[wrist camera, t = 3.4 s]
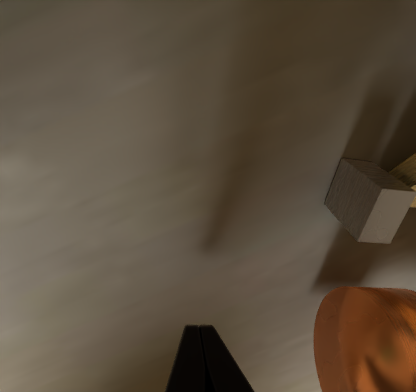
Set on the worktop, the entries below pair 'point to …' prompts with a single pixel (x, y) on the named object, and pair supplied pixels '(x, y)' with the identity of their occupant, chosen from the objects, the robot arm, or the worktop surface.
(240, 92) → the worktop surface
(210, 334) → the robot arm
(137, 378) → the worktop surface
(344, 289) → the hitch pin
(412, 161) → the plate
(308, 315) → the worktop surface
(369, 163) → the keeper bracket
